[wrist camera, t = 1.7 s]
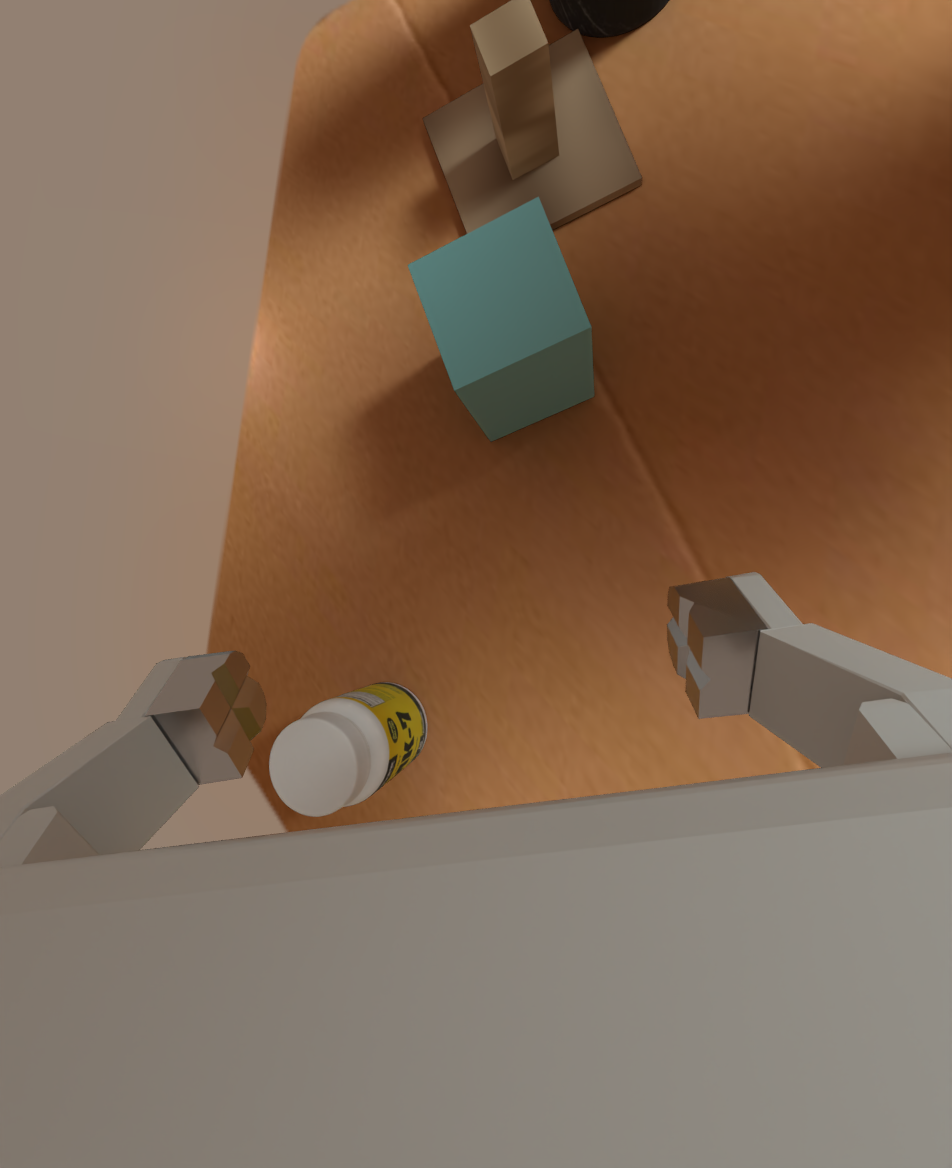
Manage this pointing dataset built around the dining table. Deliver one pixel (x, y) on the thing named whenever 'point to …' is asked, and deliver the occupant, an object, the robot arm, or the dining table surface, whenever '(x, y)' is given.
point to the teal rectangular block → (508, 321)
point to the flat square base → (531, 127)
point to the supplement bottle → (347, 748)
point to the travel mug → (605, 15)
